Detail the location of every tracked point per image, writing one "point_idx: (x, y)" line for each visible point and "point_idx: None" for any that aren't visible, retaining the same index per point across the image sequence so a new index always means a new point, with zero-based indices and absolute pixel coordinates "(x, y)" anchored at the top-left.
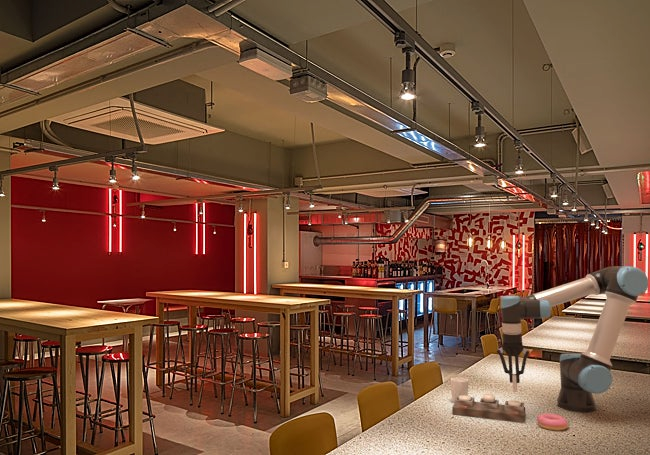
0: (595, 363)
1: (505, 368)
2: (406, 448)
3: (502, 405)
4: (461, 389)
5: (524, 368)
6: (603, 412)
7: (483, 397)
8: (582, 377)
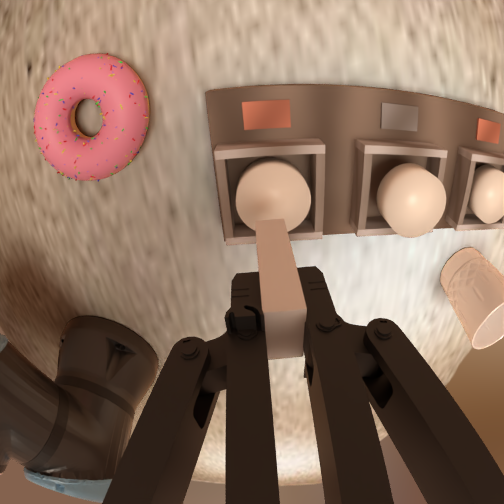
0: None
1: (401, 361)
2: None
3: (332, 219)
4: (488, 280)
5: (149, 397)
6: (50, 331)
7: (439, 184)
8: None
